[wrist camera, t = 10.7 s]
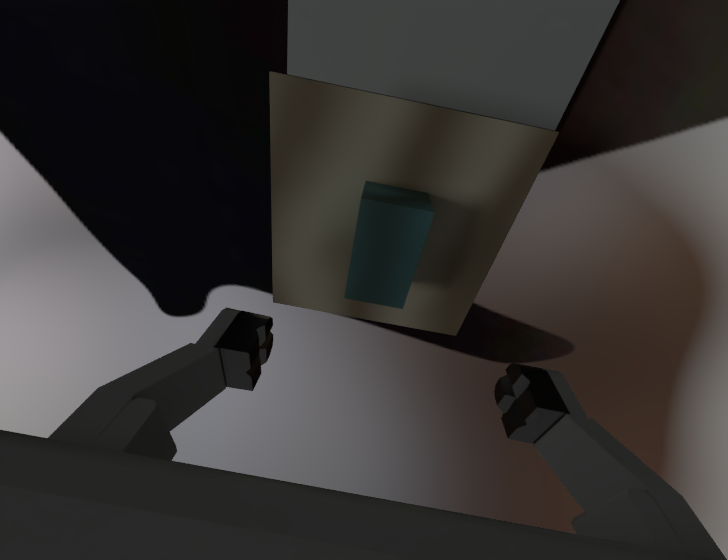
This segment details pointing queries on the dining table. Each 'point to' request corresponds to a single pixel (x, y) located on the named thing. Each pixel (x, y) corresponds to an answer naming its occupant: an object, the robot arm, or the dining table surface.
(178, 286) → the dining table surface
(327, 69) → the mat
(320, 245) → the board
